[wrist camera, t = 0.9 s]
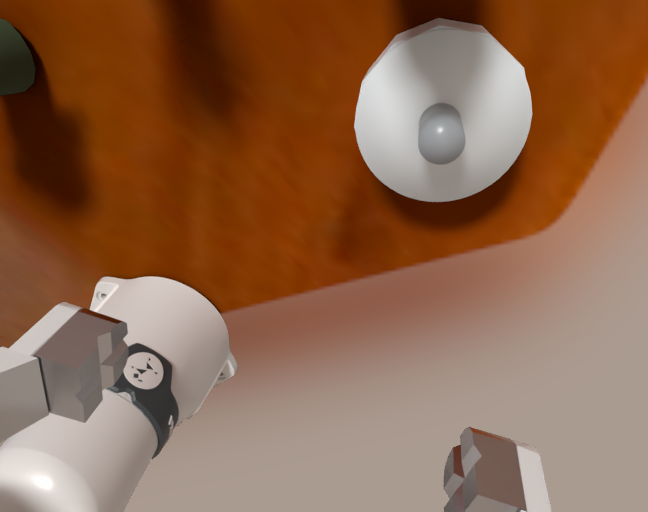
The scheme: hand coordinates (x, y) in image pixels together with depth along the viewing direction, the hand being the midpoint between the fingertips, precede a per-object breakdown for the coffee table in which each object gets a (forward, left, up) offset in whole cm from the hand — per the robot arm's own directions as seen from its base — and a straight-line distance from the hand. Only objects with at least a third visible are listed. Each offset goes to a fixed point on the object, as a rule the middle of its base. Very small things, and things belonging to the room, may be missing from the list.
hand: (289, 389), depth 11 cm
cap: (+2, -4, -31) cm, 31 cm away
